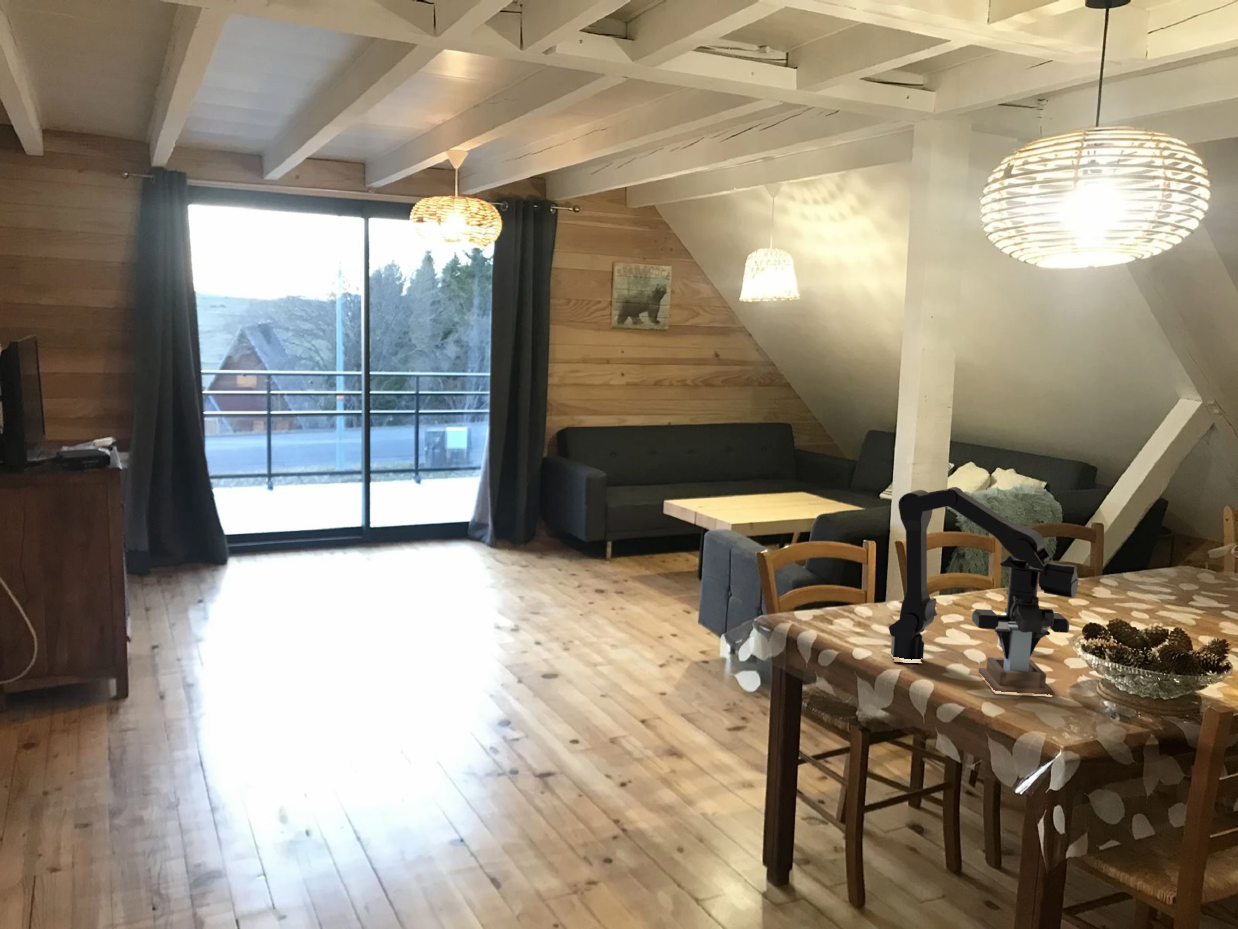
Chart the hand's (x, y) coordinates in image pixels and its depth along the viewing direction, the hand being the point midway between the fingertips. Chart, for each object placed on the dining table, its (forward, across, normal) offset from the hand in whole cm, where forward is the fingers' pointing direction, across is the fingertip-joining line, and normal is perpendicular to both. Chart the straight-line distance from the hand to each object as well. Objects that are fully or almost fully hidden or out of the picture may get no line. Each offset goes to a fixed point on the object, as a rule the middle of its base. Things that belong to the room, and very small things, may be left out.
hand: (1016, 659), depth 210 cm
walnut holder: (+6, 0, 0) cm, 6 cm away
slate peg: (+3, 0, 0) cm, 3 cm away
